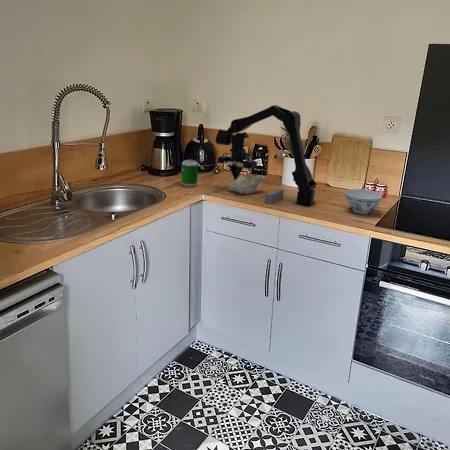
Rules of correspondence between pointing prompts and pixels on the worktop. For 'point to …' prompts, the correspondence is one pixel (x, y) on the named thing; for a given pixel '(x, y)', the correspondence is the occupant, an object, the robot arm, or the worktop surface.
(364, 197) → the chinaware
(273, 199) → the bar
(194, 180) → the soda can
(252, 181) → the grey lumpy stone
